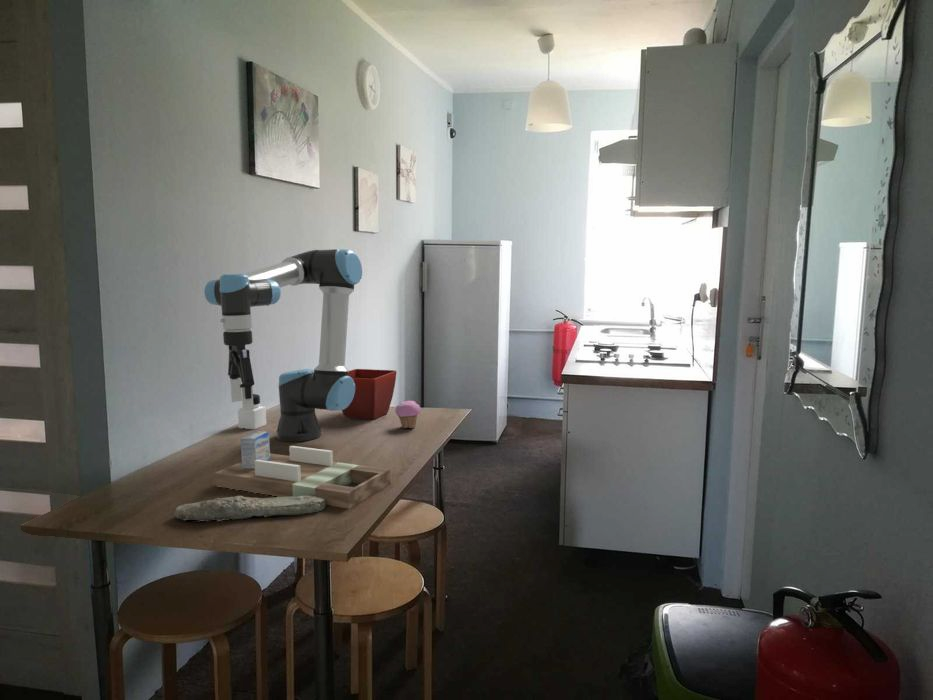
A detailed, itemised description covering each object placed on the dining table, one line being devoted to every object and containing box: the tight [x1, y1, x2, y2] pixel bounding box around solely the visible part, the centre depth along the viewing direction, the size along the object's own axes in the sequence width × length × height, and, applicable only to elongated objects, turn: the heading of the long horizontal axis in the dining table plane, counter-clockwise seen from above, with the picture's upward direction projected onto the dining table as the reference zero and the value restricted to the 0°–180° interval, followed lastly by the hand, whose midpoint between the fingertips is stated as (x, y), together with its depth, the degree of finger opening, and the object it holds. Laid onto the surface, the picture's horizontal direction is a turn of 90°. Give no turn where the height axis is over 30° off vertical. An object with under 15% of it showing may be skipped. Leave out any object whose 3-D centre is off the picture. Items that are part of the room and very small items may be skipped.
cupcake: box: [395, 400, 421, 429], centre depth 240 cm, size 9×9×10 cm
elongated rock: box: [174, 495, 327, 521], centre depth 161 cm, size 35×5×10 cm
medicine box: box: [240, 430, 271, 469], centre depth 185 cm, size 8×4×9 cm, turn 168°
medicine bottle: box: [237, 393, 267, 430], centre depth 245 cm, size 7×7×12 cm
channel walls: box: [255, 445, 334, 482], centre depth 181 cm, size 15×14×4 cm
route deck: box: [214, 452, 392, 510], centre depth 180 cm, size 20×43×4 cm, turn 66°
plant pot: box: [341, 368, 398, 421], centre depth 260 cm, size 19×19×17 cm
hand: (242, 405), depth 186 cm, fingers open, 13 cm apart
